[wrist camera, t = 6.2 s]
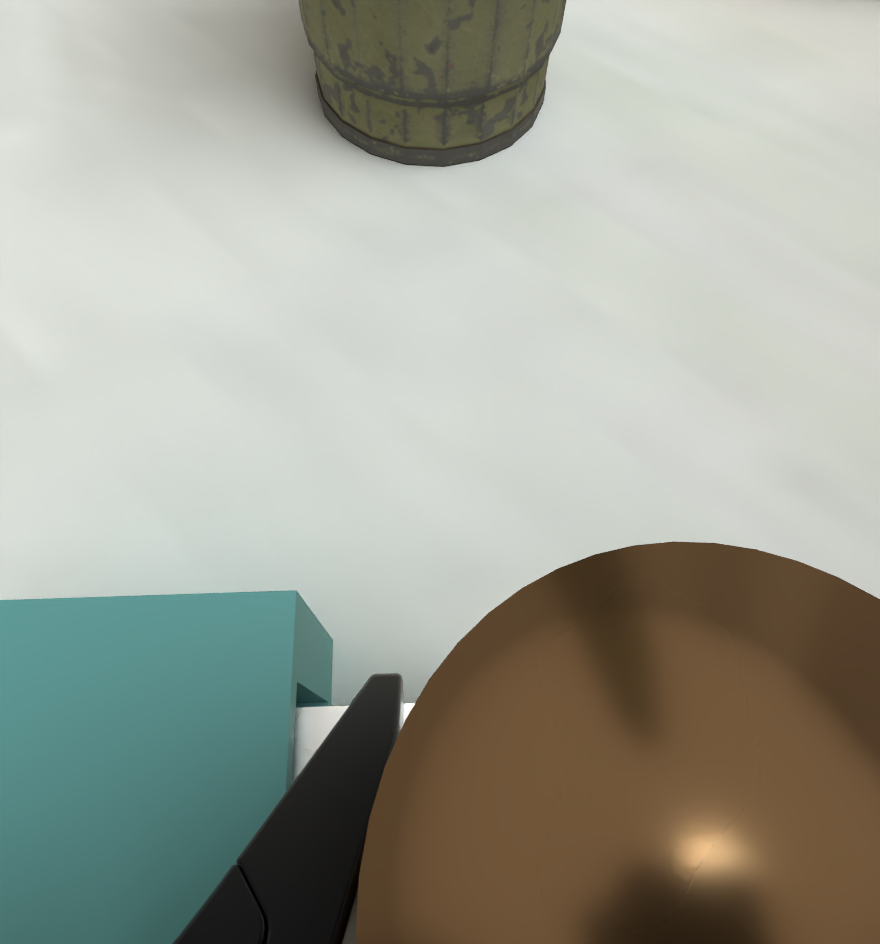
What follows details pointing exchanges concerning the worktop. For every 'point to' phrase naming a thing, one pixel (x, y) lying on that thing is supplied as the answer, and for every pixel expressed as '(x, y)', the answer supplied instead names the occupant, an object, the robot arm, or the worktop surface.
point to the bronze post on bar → (637, 763)
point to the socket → (142, 753)
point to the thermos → (432, 73)
